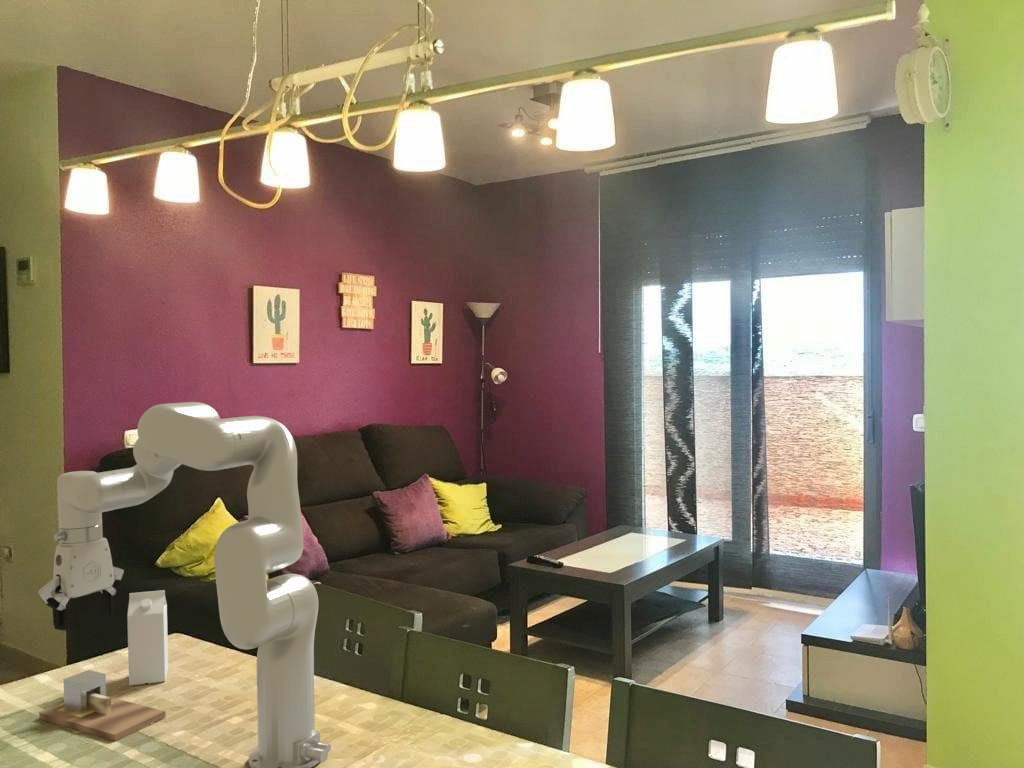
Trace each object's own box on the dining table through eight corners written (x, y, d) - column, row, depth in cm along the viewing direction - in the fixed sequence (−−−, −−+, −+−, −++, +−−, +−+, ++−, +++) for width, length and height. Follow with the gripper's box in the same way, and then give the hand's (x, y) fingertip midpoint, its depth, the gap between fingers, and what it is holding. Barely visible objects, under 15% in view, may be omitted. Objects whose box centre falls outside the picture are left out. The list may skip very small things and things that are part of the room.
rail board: (165, 717, 159) (165, 696, 159) (115, 741, 149) (114, 718, 149) (91, 697, 169) (90, 677, 169) (39, 718, 159) (38, 697, 159)
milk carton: (133, 674, 182) (131, 589, 181) (168, 670, 184) (166, 586, 183) (129, 686, 175) (126, 597, 174) (165, 682, 177) (163, 594, 176)
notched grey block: (106, 703, 163) (105, 673, 162) (81, 714, 158) (80, 683, 158) (89, 699, 165) (88, 669, 165) (64, 709, 160) (63, 679, 160)
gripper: (51, 545, 151) (54, 637, 151) (132, 527, 166) (135, 611, 167) (25, 542, 154) (29, 633, 155) (107, 525, 170) (111, 608, 170)
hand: (84, 622), depth 161 cm, fingers open, 9 cm apart
